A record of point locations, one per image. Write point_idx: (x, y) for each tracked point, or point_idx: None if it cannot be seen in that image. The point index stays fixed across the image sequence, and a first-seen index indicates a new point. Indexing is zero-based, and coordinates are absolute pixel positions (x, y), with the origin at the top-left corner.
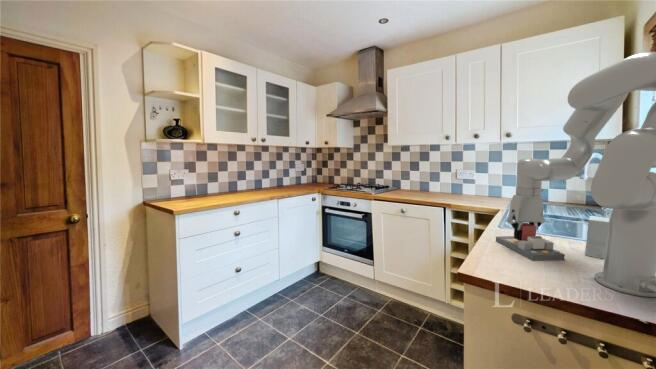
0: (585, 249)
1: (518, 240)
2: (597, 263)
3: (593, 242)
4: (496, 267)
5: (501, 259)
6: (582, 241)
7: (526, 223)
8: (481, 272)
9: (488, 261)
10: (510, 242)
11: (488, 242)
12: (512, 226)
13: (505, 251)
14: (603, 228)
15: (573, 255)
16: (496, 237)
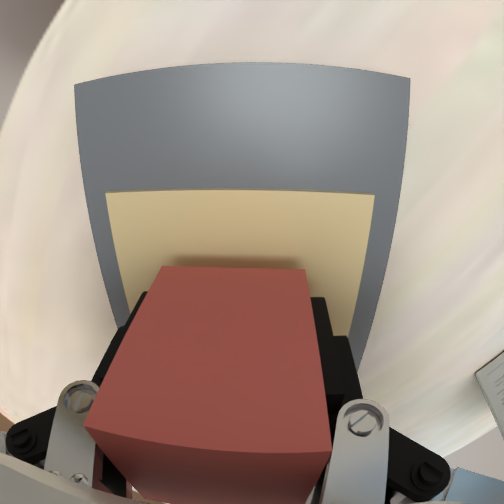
0: (493, 385)
1: (223, 245)
2: (414, 430)
3: (502, 435)
4: (33, 406)
5: (49, 376)
6: None
7: (278, 471)
8: (6, 407)
9: (12, 374)
10: (122, 275)
11: (36, 126)
12: (49, 413)
13: (82, 311)
14: None
15: (431, 378)
16: (79, 92)
